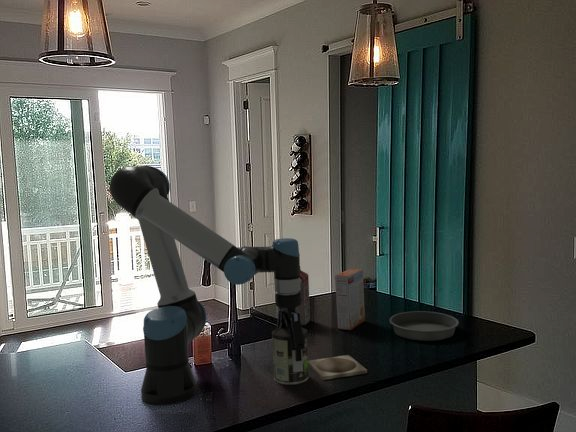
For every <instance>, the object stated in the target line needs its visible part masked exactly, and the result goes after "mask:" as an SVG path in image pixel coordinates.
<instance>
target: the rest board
mask: <svg viewBox="0 0 576 432" xmlns="http://www.w3.org/2000/svg"><path fill="white" fill-rule="evenodd" d="M308 367H310V369H312V370H313V371H314V373H315V374H316V375H317V376H318V377H319V378H320V379H321V380H322V381H325V380H334V379H339V378H344V377H352V376H357V375H364V374H368V369H366V368H365V366H363V365H362V364H361V363H359V362H358V361H357V360H356V359H354V358H353V357H352V356H350V355H349V354H346V355H338V356H332V357H325V358H318V359H317V358H316V359H310V360H308Z"/></svg>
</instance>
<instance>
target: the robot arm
mask: <svg viewBox="0 0 576 432" xmlns="http://www.w3.org/2000/svg"><path fill="white" fill-rule="evenodd" d="M170 190H171V185H170V180H169V178H168V175H166V174H165V173H164V171H162V170H161V169H159V168H157V167H154V166H151V165H139V166H134V165H133V166H125V167H122V168H119V169H118V170H117V171H116V172H115V173H114V174H113V175H112V177H111V179H110V182H109V193H110V195H111V198H112V199H113V201H114V202H115V203H116V204H117V205H118V206H119V207H121V208H122V209H123V210H125V212H127V213H129V214H130V215H131V216H132V217H133V218H135V219H137V220H138V223H139V226H140V229H141V233H142V234H141V235H142V237H143V240H144V244H145V248H146V251H147V255H148V258H149V261H150V264H151V265H150V266H151V268H152V271H153V275H154V278H155V282H156V285H157V289H158V291H159V295H160V298H159V300H158V301H157V308H155V309H152V310H150V311H149V312H148V313H146V314H145V316H144V318H143V327H142V332H143V340H144V352H145V353H144V354H145V355H144V356H145V367H146V368H145V373H144V377H143V380H142V385H141V388H140V390H141V392H140V393H141V394H140V395H141V399H142V401H143V402H145V403H147V404H150V405H155V406H156V405H157V406H158V405H159V406H166V405H168V406H169V405H173V404H178V403H181V402H185V401H188V400H189V399H191V398H192V397H194V396H195V395H196V393H197V391H198V387H197V385H198V384H197V381H196V377H195V376H194V373H193V370H192V368H191V366H190V361H189V359H190V357H189V344H190V343H191V342H192V341H193V340H194V339H195V338H197V337H198V336H199V335H200V334H201V333H202V331H203V329H204V328H205V327H206V324H207V318H208V317H207V315H208V314H207V310H206V308H205V306H204V305H203V304H202V302H200V301H199V300H198V297H197V294H196V292H195V291H193V290H192V289H190V288H189V285H188V281H187V278H186V275H185V271H184V267H183V264H182V260H181V257H180V253H179V250H178V245H177V243H176V241H177V242H179V243H181V245H183V246H184V247H186V248H187V249H189V250H190V251H192V252H193V253H194V254H196V255H198V256H199V257H201V258H202V259H204V260H205V261H207V262H208V263H210V264H211V265H213V266H214V267H215V268H217V269H219V270H220V271H221V272H223V274H224V277H225V279H226V280H227V281H228V282H229V283H231V284H233V285H237V286H239V285H240V286H241V285H243V284H247V283H248V282H250V281H251V280H252V279H253V278H254V277H255V275H257V274H258V273H273V277H274V278H273V280H274V281H273V282H274V283H273V284H274V285H273V286H274V292H275V294H274V298H275V300H274V302H275V306H276V307H277V308H278V310H277V311H278V312H277V319H276V329H278V328H282V327H287V328H288V329H289V332H290V336H291V340H292V345H293V347H292V348H291V350H292V357H293V372H300V371H303V357H302V349H305V345H304V339H303V334H302V328H303V327H302V325H301V322H300V314H299V313H297V312H296V310H295V308H296V307H297V306H300V305H301V293H300V292H299V291H300V290H301V288H300V283H301V282H302V280H301V279H300V269H301V266H300V264H301V262H300V259H301V258H300V248H299V242H298V240H297V239H295V238H291V237H290V238H289V237H286V238H285V237H284V238H276V239H274V240H273V241H272V245H271V246H241V247H238V246H235V244H233V243H232V242H230V241H228V240H227V239H226V238H224V237H222V236H221V235H220V234H218V233H216V232H215V231H214V230H212V229H211V228H210V227H208V226H206V225H205V224H204V223H202V222H200V221H199V220H197V219H196V218H194V217H193V216H191V215H190V214H188V213H187V212H186V211H184V210H183V209H181V208H179V207H178V206H177V205H176V204H174V203H172V202H171V201H170V199H169V193H170ZM298 344H299V345H298Z"/></svg>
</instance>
